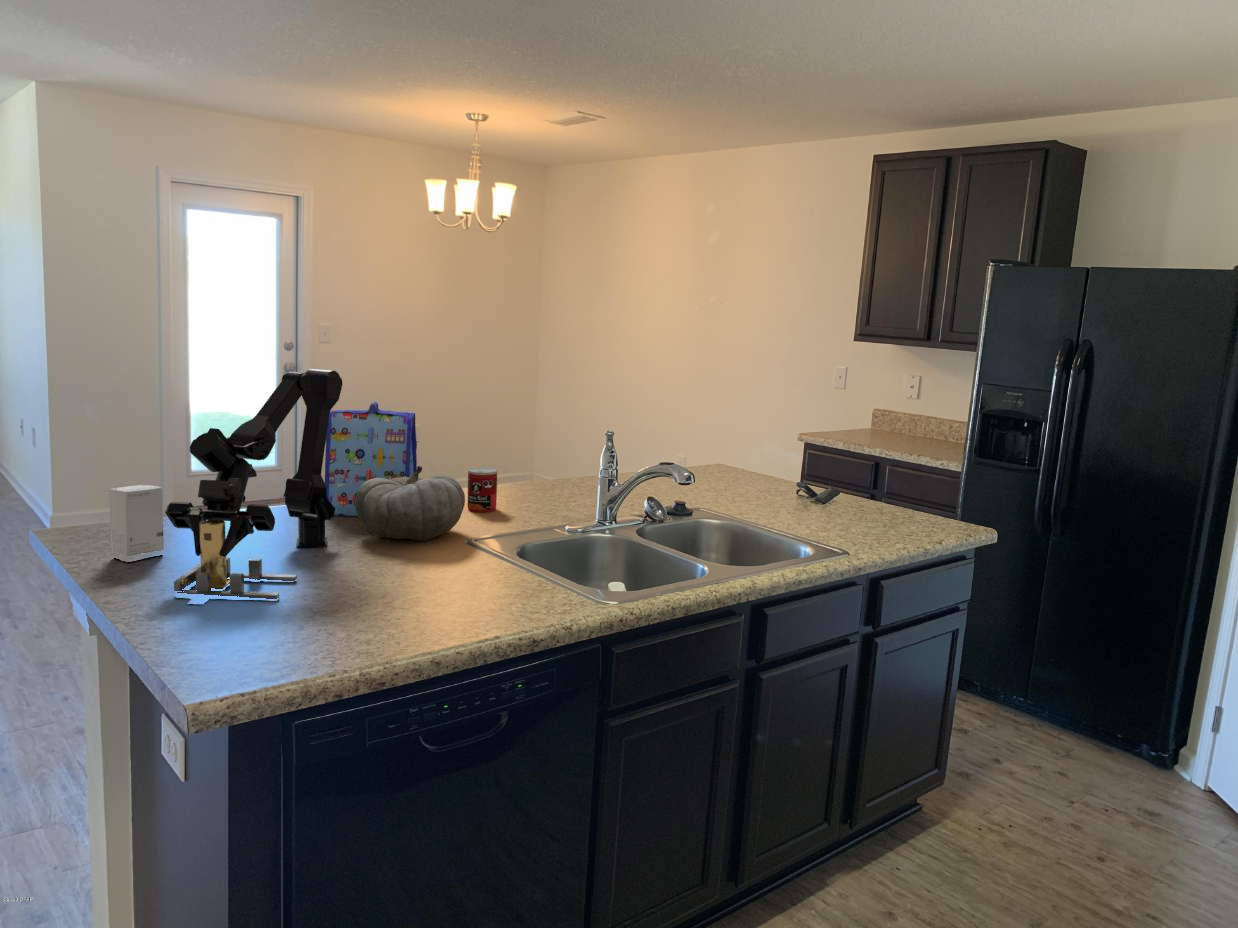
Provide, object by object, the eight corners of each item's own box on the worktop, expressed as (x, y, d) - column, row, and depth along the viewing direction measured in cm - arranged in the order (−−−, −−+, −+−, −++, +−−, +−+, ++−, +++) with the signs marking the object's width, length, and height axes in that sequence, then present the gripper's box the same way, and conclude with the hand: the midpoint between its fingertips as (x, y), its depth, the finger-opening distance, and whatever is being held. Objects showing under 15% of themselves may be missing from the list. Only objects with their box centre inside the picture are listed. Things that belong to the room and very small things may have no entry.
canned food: (462, 510, 240) (463, 470, 238) (475, 505, 247) (476, 466, 245) (488, 514, 238) (489, 473, 236) (500, 508, 245) (501, 468, 243)
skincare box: (127, 564, 180) (124, 492, 178) (110, 558, 183) (106, 488, 181) (166, 555, 188) (163, 486, 185) (148, 550, 191) (145, 482, 188)
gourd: (457, 541, 199) (447, 464, 198) (347, 554, 200) (336, 478, 199) (476, 525, 224) (467, 457, 223) (378, 537, 225) (368, 469, 223)
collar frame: (200, 577, 174) (199, 555, 173) (297, 580, 175) (296, 558, 175) (165, 604, 159) (164, 580, 158) (271, 607, 160) (270, 583, 159)
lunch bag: (417, 507, 241) (418, 401, 236) (407, 519, 228) (408, 407, 222) (336, 504, 240) (335, 398, 235) (321, 516, 227) (320, 403, 222)
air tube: (206, 582, 171) (203, 519, 168) (232, 583, 171) (230, 520, 169) (195, 590, 166) (192, 525, 164) (222, 591, 166) (220, 526, 164)
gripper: (167, 460, 168) (142, 532, 159) (268, 463, 169) (250, 535, 160) (186, 492, 177) (164, 561, 168) (282, 495, 178) (265, 564, 169)
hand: (210, 555), depth 166 cm, fingers closed on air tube, 4 cm apart
